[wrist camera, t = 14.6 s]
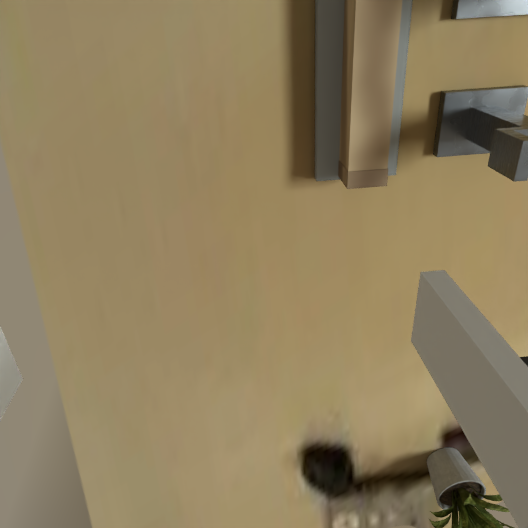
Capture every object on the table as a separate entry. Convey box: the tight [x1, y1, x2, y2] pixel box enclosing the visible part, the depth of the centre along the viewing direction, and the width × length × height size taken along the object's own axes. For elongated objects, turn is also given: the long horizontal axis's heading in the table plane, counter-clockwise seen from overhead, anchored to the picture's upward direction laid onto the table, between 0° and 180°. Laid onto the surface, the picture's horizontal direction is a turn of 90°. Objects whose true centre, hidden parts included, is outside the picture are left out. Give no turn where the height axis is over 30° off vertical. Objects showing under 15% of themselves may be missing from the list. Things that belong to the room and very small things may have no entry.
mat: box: [315, 0, 413, 181], centre depth 40 cm, size 21×8×1 cm, turn 3°
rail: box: [338, 0, 402, 189], centre depth 38 cm, size 4×20×4 cm, turn 3°
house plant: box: [427, 448, 514, 528], centre depth 63 cm, size 14×14×16 cm
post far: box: [433, 85, 528, 181], centre depth 38 cm, size 8×6×13 cm
